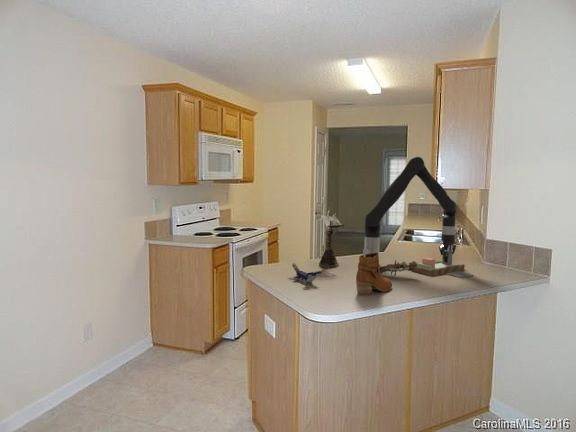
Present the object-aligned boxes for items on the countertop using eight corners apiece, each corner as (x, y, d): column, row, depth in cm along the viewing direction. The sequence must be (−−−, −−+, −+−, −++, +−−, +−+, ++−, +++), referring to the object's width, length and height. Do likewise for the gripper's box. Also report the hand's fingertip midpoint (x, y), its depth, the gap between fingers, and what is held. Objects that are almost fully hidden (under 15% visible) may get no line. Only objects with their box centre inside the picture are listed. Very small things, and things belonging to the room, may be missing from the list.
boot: (384, 285, 205) (385, 248, 203) (398, 289, 197) (400, 251, 195) (348, 292, 191) (349, 253, 190) (362, 297, 184) (363, 256, 182)
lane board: (430, 275, 224) (430, 270, 224) (411, 270, 236) (411, 265, 236) (464, 269, 240) (464, 264, 239) (444, 265, 251) (444, 260, 251)
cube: (429, 268, 230) (429, 260, 229) (422, 266, 234) (422, 258, 234) (434, 267, 232) (435, 259, 232) (427, 266, 237) (428, 257, 236)
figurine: (364, 261, 227) (414, 253, 222) (366, 275, 230) (416, 268, 226) (366, 270, 217) (418, 262, 213) (368, 285, 221) (420, 278, 216)
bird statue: (347, 268, 242) (349, 210, 238) (328, 270, 237) (329, 210, 234) (335, 262, 257) (336, 208, 254) (316, 264, 252) (317, 208, 249)
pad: (462, 278, 220) (462, 277, 219) (446, 274, 228) (446, 273, 228) (473, 275, 225) (473, 274, 225) (457, 272, 233) (457, 271, 233)
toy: (304, 292, 202) (306, 273, 199) (284, 272, 221) (286, 255, 218) (321, 289, 207) (324, 271, 204) (300, 270, 226) (302, 253, 223)
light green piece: (430, 272, 227) (430, 255, 226) (417, 268, 235) (418, 253, 234) (454, 267, 239) (455, 252, 238) (442, 264, 246) (442, 249, 246)
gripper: (450, 231, 247) (449, 259, 248) (435, 233, 239) (434, 262, 241) (461, 233, 240) (459, 261, 242) (446, 235, 233) (444, 264, 235)
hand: (447, 261), depth 241 cm, fingers closed on light green piece, 2 cm apart
